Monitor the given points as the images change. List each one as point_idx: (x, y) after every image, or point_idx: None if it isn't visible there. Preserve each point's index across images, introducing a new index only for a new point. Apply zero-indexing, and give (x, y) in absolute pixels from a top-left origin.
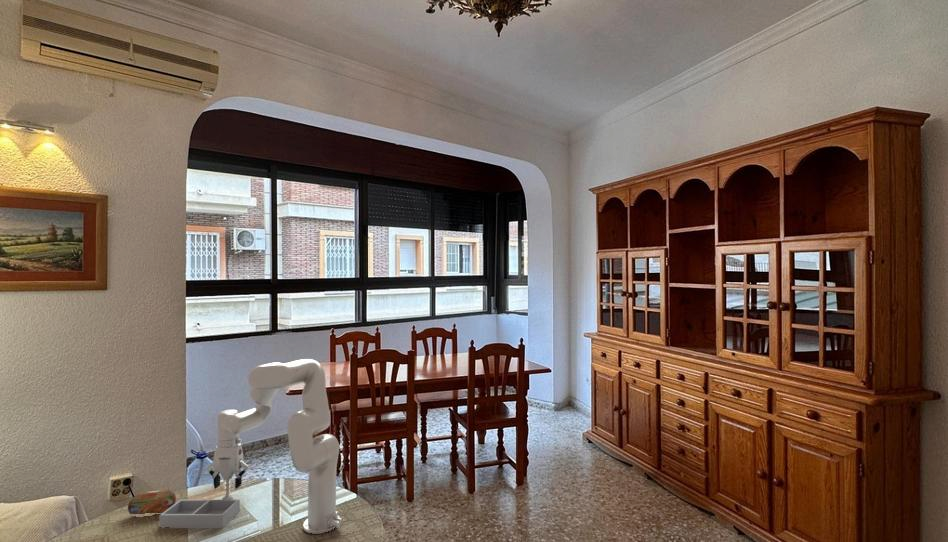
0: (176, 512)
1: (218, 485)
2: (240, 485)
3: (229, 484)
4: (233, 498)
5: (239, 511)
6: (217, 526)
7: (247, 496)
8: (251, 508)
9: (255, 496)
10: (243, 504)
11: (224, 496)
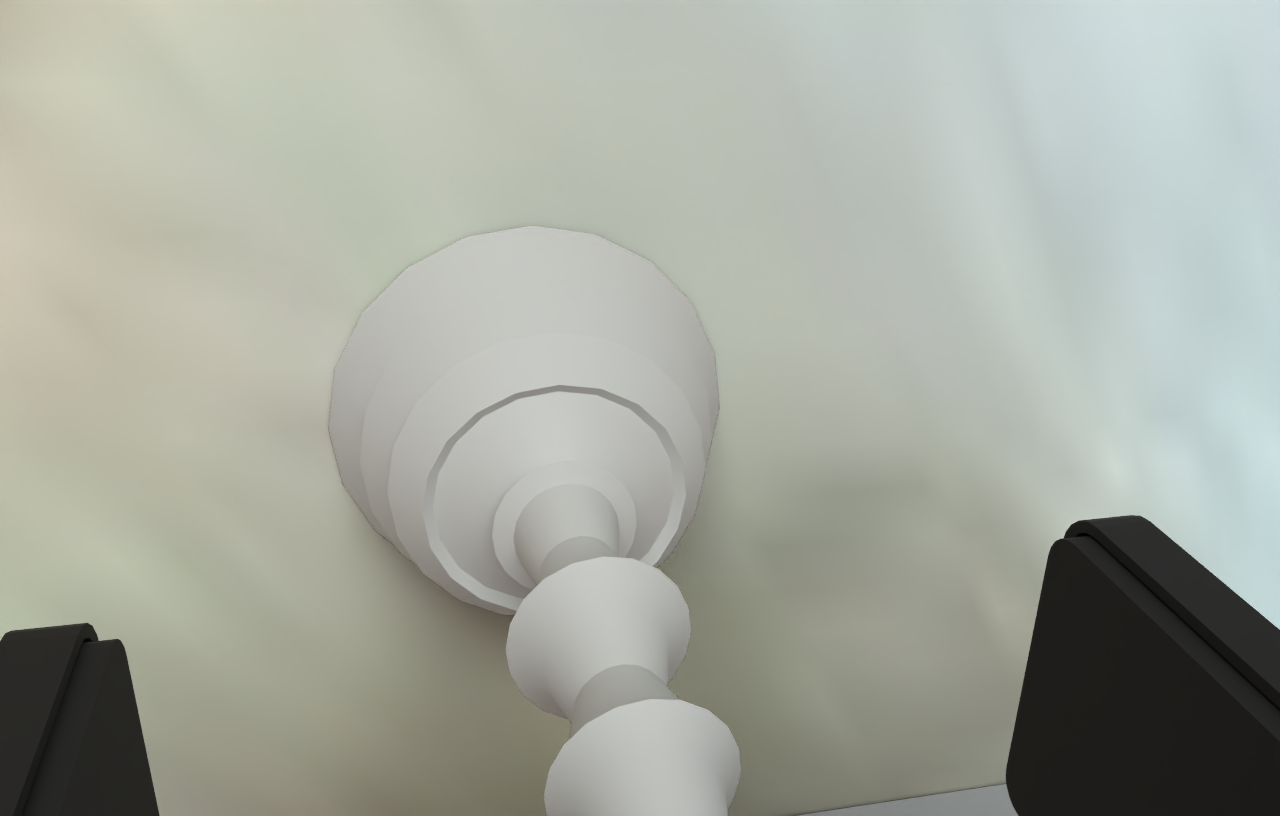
0: None
1: (140, 801)
2: (1118, 522)
3: (734, 774)
4: (696, 371)
5: None
6: None
7: (980, 29)
8: None
9: (1214, 27)
10: (1022, 496)
11: (479, 557)
